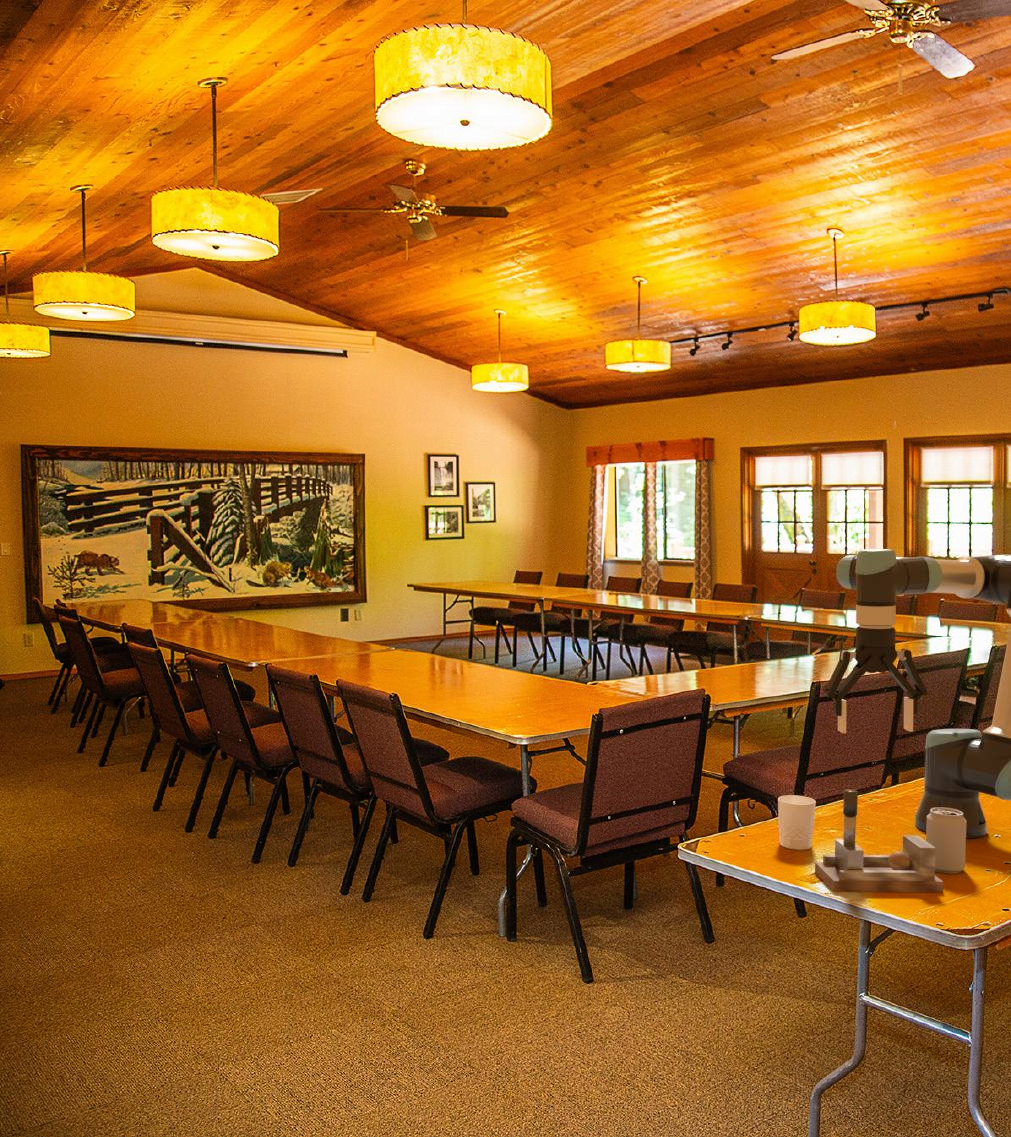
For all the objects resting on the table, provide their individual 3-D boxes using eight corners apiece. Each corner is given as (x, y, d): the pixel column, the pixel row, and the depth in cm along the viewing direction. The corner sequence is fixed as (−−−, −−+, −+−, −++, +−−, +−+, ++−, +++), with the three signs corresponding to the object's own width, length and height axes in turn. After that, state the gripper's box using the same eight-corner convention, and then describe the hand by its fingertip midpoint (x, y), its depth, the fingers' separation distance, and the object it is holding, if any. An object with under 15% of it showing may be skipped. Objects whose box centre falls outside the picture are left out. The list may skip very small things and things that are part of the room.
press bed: (918, 872, 208) (919, 833, 208) (943, 892, 197) (944, 850, 197) (814, 872, 207) (815, 832, 207) (833, 891, 196) (834, 849, 196)
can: (961, 877, 205) (963, 817, 205) (921, 870, 209) (923, 811, 209) (967, 867, 212) (969, 809, 211) (928, 860, 216) (930, 803, 215)
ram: (849, 864, 205) (851, 786, 205) (862, 876, 198) (865, 796, 198) (834, 863, 205) (836, 786, 205) (847, 876, 198) (849, 796, 198)
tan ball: (903, 869, 204) (906, 849, 204) (912, 876, 200) (915, 856, 200) (883, 867, 204) (886, 847, 204) (891, 873, 200) (894, 853, 200)
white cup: (816, 852, 220) (817, 805, 220) (777, 849, 222) (779, 803, 221) (812, 841, 228) (814, 796, 228) (775, 838, 229) (776, 794, 229)
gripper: (928, 622, 212) (927, 725, 213) (808, 625, 211) (807, 728, 212) (945, 627, 204) (944, 733, 205) (820, 629, 203) (820, 736, 204)
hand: (875, 731), depth 209 cm, fingers open, 13 cm apart
